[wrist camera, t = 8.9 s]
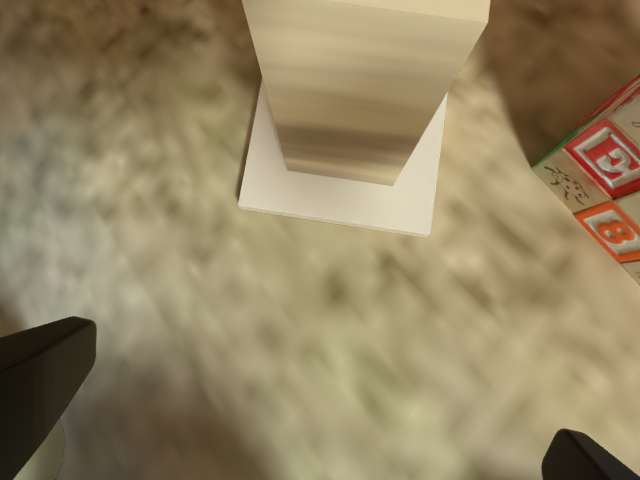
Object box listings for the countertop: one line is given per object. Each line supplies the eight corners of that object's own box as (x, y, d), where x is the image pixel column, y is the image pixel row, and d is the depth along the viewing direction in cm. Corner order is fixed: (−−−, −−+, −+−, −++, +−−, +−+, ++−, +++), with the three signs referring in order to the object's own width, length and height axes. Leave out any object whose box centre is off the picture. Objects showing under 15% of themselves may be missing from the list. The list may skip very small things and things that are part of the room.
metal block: (392, 186, 20) (487, 22, 9) (287, 170, 21) (238, -12, 9) (406, 87, 21) (510, -190, 9) (304, 72, 21) (280, -218, 9)
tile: (426, 237, 21) (429, 235, 20) (241, 209, 21) (238, 205, 20) (447, 64, 22) (452, 55, 21) (273, 39, 22) (271, 30, 22)
